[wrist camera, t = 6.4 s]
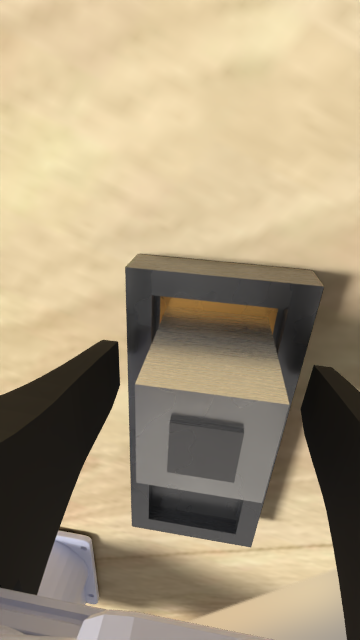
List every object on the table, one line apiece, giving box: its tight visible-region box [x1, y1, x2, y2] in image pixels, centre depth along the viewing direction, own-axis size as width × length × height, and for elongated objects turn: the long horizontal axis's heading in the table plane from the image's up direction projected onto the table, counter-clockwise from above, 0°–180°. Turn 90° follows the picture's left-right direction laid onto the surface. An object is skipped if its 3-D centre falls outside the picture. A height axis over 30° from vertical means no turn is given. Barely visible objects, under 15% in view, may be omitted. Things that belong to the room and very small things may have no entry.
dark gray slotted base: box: [125, 254, 324, 547], centre depth 16 cm, size 16×7×2 cm, turn 177°
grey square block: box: [135, 306, 290, 503], centre depth 11 cm, size 4×4×5 cm
